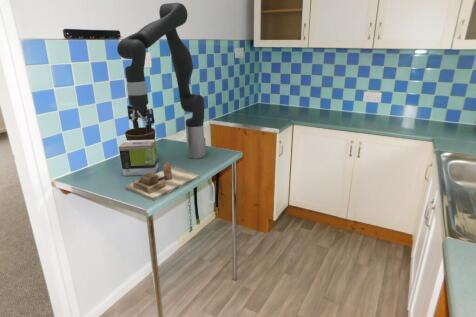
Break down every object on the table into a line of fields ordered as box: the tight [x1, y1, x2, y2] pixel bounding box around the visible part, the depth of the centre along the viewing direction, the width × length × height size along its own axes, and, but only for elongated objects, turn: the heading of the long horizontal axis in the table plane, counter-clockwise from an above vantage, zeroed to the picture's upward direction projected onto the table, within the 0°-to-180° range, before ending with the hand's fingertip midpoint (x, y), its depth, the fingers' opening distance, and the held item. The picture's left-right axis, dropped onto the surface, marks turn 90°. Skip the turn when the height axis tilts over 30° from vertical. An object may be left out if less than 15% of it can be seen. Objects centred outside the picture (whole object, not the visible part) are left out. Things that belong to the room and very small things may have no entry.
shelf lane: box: [124, 166, 201, 201], centre depth 140 cm, size 27×18×4 cm, turn 144°
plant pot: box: [124, 126, 156, 140], centre depth 164 cm, size 15×15×16 cm
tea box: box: [118, 139, 159, 176], centre depth 151 cm, size 15×10×15 cm, turn 92°
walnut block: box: [139, 162, 172, 186], centre depth 137 cm, size 14×5×7 cm, turn 144°
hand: (142, 131), depth 133 cm, fingers open, 8 cm apart
